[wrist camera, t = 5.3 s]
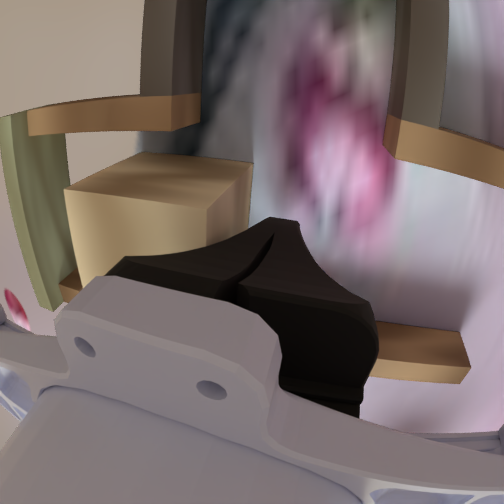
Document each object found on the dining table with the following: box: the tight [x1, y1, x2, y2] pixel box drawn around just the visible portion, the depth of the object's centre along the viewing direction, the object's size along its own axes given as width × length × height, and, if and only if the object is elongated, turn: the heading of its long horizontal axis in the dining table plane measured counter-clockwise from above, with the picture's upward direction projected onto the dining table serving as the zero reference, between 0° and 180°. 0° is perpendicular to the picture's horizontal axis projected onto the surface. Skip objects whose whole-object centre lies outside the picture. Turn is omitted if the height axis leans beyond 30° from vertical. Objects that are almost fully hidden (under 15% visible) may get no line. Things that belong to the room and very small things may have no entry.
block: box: [64, 152, 253, 288], centre depth 12 cm, size 5×5×5 cm
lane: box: [0, 0, 504, 384], centre depth 12 cm, size 22×23×4 cm
